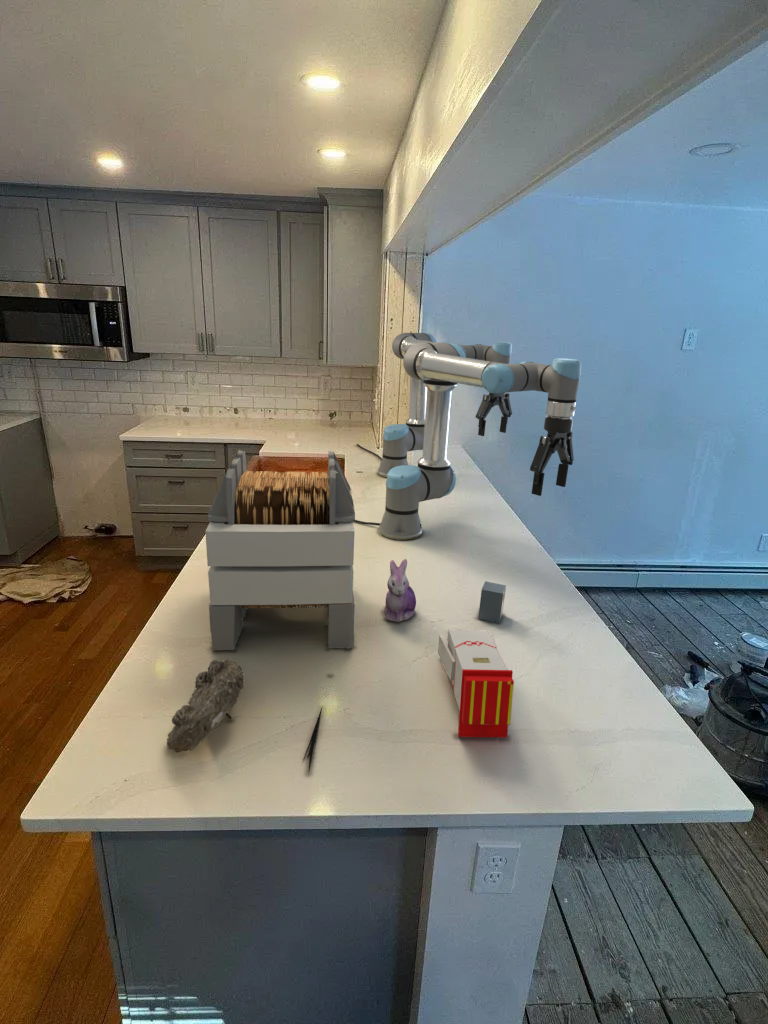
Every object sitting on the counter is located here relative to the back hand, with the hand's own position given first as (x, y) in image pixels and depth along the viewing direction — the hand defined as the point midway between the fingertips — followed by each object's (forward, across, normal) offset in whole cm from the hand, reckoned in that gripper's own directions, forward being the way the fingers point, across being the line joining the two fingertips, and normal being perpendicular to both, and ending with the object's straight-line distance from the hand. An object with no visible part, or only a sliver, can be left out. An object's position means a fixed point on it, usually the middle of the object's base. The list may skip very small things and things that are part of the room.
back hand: (492, 433), depth 235 cm
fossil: (+27, -151, -63) cm, 165 cm away
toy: (+26, -105, -87) cm, 139 cm away
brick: (+27, -77, -69) cm, 107 cm away
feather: (+27, -135, -76) cm, 157 cm away
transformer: (+27, -120, -38) cm, 128 cm away
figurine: (+27, -96, -54) cm, 114 cm away
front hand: (0, -46, -61) cm, 77 cm away
